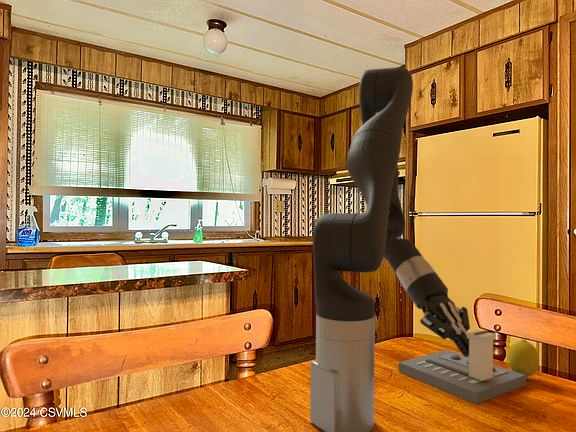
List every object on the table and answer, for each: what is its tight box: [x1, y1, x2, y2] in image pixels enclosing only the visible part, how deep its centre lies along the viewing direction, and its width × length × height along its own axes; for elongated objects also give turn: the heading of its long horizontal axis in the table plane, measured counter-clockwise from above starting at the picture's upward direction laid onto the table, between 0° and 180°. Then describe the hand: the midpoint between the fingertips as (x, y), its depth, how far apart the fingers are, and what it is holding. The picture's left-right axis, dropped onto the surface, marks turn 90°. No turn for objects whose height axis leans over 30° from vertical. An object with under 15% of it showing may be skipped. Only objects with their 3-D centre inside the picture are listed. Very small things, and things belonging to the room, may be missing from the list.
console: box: [398, 349, 527, 405], centre depth 86 cm, size 16×18×3 cm
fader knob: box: [466, 329, 497, 381], centre depth 80 cm, size 4×3×8 cm
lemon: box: [507, 338, 540, 378], centre depth 86 cm, size 6×6×8 cm
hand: (471, 354), depth 82 cm, fingers closed
